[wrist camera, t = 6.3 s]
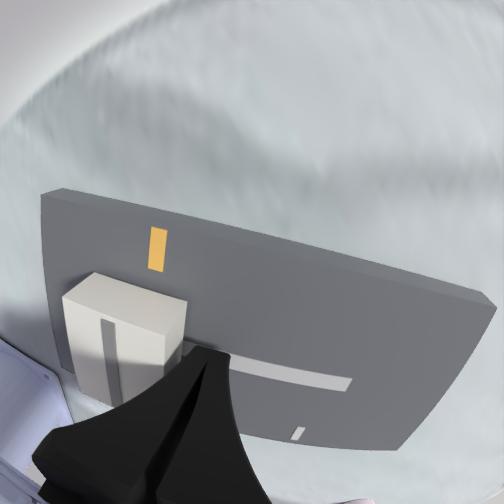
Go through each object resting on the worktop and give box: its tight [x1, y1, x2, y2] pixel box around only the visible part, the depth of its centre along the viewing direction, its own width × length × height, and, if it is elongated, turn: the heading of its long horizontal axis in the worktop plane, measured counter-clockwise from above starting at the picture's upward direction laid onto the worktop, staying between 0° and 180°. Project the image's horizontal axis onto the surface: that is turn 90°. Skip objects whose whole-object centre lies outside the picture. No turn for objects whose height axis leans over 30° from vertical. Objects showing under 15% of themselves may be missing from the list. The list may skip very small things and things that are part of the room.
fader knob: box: [62, 272, 187, 408], centre depth 10 cm, size 4×5×2 cm
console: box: [41, 188, 497, 450], centre depth 12 cm, size 20×10×2 cm, turn 78°
